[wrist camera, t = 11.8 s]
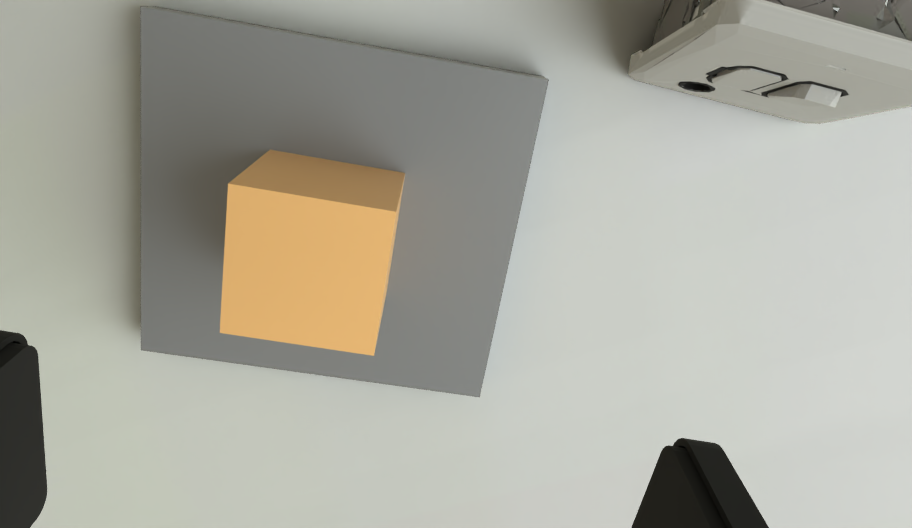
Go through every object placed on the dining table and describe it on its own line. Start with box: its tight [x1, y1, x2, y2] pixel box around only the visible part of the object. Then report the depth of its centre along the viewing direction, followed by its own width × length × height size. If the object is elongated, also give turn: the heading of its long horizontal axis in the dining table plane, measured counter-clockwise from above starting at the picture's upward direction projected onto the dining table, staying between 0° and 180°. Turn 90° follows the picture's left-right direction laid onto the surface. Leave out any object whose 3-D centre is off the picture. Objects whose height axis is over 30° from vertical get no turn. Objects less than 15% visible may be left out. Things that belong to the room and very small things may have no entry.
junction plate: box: [141, 6, 549, 397], centre depth 28 cm, size 16×17×6 cm
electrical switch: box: [628, 0, 912, 124], centre depth 25 cm, size 9×5×9 cm, turn 76°
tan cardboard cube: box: [220, 150, 405, 356], centre depth 27 cm, size 6×6×6 cm
